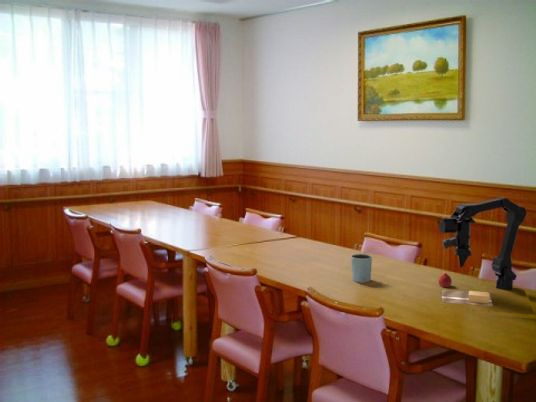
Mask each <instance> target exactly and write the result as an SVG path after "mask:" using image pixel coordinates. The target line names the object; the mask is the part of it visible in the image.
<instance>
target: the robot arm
mask: <svg viewBox="0 0 536 402" xmlns="http://www.w3.org/2000/svg"><path fill="white" fill-rule="evenodd" d="M499 208H501V209H502V210H503V211H504V212H505V213H506V214H505V218H506V223H507V224H506V228H505V232H504V236H503V241H502V242H501V243H502V244H501V247H500V251H499V254H498V255H497V256H496V257H495V256H493V258H492V261H491V262H492V263H491V265H490V266H491V269H492V271H493V273H494V275H495V276H496V277H497V278H496V279H495V288H496V289H498V290H502V291H503V290H504V291H510V290H511V291H512V290H513V286H514V285H513V284H514V281H516V280H517V279H516V278H517V274H515V272H514V271H513V270H512V269H513V261H512V254H513V250H514V246H515V243H516V238H517V235H518V231H519V228H520V226H521V225H522V223H523V222H525V219H526V217H527V212H528V211H527V210H526V208H525V207H523V206H520V205H518V204H516V203H515V202H513V201H511V200H509V199H508V198H507V197H503V196H499V197H497V198H492V199H488V200H484V201H481V202H480V201H479V202H476V203H475V202H473V203H468V202H467V203H466V202H465V203H458V204H457V205H456V207H455V209H454V211H453V213H452V214H451V215H450V216H449V217H442V218H441V220H440V222H439V224H438V229H439V232H440V233H441V234H454V237H450V238H449V237H448V238H446V239H443V240H442V245H443V248H444V249H449V248H451V247H453V248H454V254H455V256H457V257H458V263H459V268H464V265H465V263H467V262H466V261H467V260H468V258H469V257H471V256H472V249H470V248H471V247H470V246H471V245H470V242H471V241H470V239H471V224H475V223H476V221H475V220H474V219H473V217H475V216H476V215H478V214H480V213H483V212H486V211H493V210H495V209H496V210H497V209H499Z"/></svg>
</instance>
